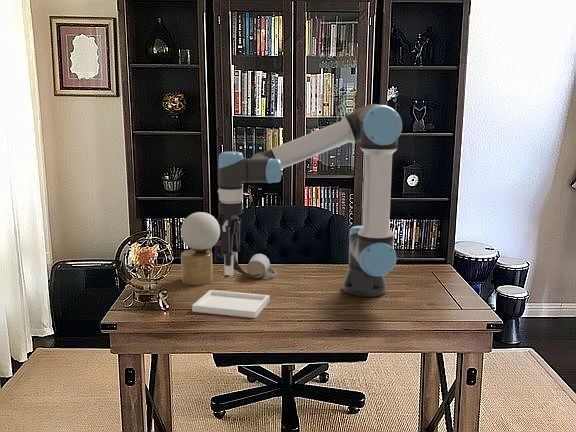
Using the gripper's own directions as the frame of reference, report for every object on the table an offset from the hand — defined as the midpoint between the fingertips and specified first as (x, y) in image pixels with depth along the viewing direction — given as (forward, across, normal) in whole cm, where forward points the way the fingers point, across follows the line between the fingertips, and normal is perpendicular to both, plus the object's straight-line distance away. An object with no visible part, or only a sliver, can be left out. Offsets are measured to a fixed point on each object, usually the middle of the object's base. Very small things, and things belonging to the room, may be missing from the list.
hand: (231, 272), depth 205 cm
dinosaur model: (+1, 0, +2) cm, 3 cm away
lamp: (+12, -24, -20) cm, 34 cm away
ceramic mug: (+12, -34, 0) cm, 36 cm away
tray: (+11, 0, 0) cm, 11 cm away
